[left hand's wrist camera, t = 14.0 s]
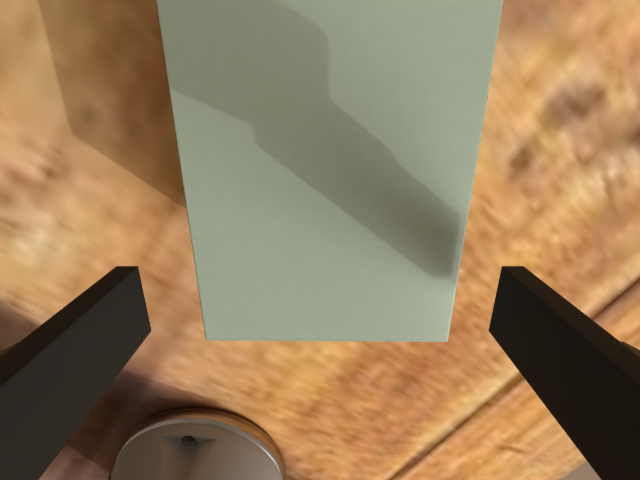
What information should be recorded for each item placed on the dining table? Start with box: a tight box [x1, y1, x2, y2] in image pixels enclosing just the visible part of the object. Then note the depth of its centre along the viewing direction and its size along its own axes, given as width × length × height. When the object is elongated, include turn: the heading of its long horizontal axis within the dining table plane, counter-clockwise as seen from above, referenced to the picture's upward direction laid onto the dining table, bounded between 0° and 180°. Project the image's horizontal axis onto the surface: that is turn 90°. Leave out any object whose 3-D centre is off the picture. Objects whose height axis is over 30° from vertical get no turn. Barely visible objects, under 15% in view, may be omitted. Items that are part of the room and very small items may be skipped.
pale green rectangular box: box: [156, 0, 503, 342], centre depth 17 cm, size 19×11×10 cm, turn 0°
